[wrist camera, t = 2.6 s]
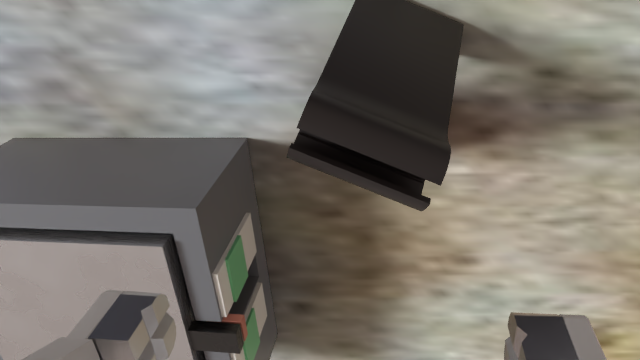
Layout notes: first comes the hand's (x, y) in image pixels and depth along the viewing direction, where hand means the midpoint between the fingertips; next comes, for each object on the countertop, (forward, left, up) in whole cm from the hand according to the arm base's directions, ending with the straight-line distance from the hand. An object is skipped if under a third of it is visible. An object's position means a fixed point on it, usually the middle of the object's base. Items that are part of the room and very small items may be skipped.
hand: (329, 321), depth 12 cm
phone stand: (0, 0, -21) cm, 21 cm away
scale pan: (+16, +13, -12) cm, 24 cm away
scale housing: (+18, +13, -20) cm, 30 cm away
